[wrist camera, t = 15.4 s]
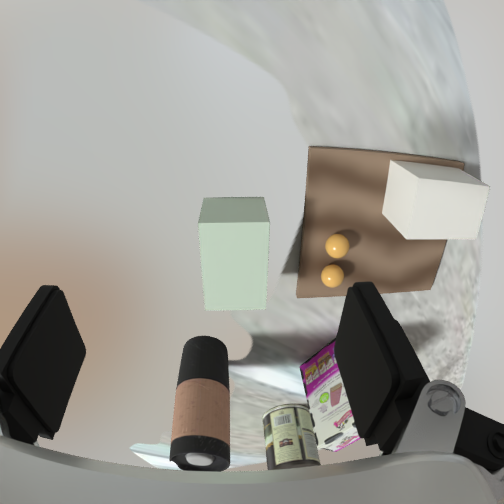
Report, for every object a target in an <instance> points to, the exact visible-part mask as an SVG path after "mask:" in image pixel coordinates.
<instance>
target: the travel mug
mask: <svg viewBox="0 0 504 504" xmlns="http://www.w3.org/2000/svg"><path fill="white" fill-rule="evenodd" d="M170 461H173V462H175V463H176V464H177V465H178V467H179V468H180V469H181V470H184V471H210V472H221V471H224V470H226V469H227V468H228V467H229V466H230V391H229V371H228V353H227V348H226V346H225V345H224V343H223V342H221V341H220V340H218V339H217V338H214V337H210V336H197V337H194V338H191V339H190V340H189V341H187V342H186V344H185V346H184V348H183V353H182V359H181V365H180V370H179V377H178V382H177V388H176V396H175V407H174V416H173V426H172V437H171V448H170Z"/></svg>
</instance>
